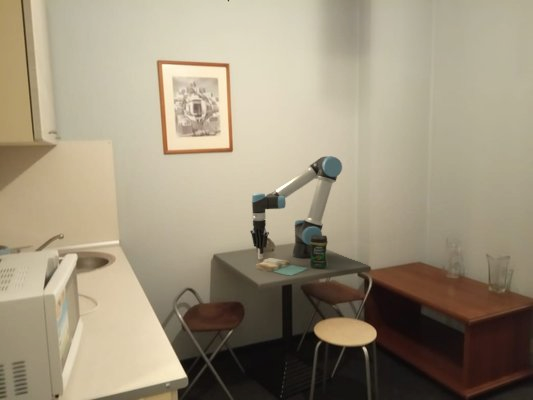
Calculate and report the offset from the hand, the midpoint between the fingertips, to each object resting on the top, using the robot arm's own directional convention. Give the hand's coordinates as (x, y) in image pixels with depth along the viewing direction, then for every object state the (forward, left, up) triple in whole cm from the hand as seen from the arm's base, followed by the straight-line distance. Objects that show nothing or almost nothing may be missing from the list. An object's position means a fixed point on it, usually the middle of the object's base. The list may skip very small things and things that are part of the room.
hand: (260, 258), depth 239 cm
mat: (0, +22, -3) cm, 23 cm away
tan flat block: (0, +10, -3) cm, 10 cm away
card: (0, +10, -1) cm, 10 cm away
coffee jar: (-15, +32, -4) cm, 35 cm away
